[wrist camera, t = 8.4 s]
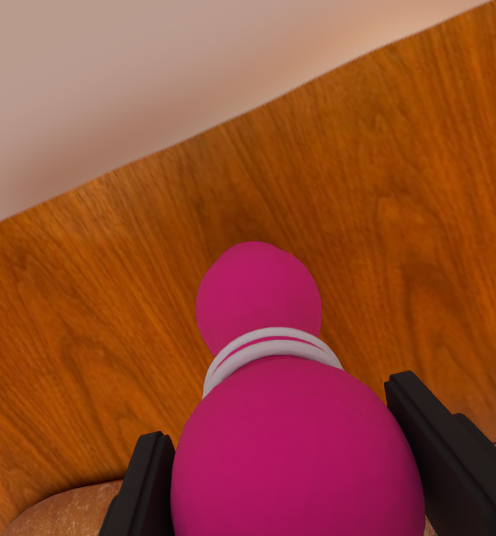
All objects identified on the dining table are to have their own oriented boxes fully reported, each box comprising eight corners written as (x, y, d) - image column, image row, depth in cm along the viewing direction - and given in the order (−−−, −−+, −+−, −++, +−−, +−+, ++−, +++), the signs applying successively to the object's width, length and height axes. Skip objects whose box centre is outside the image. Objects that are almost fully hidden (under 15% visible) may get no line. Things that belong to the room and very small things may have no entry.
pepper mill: (183, 263, 23) (-69, 708, 4) (277, 215, 22) (550, 449, 3) (232, 345, 25) (231, 928, 6) (319, 303, 24) (656, 791, 5)
